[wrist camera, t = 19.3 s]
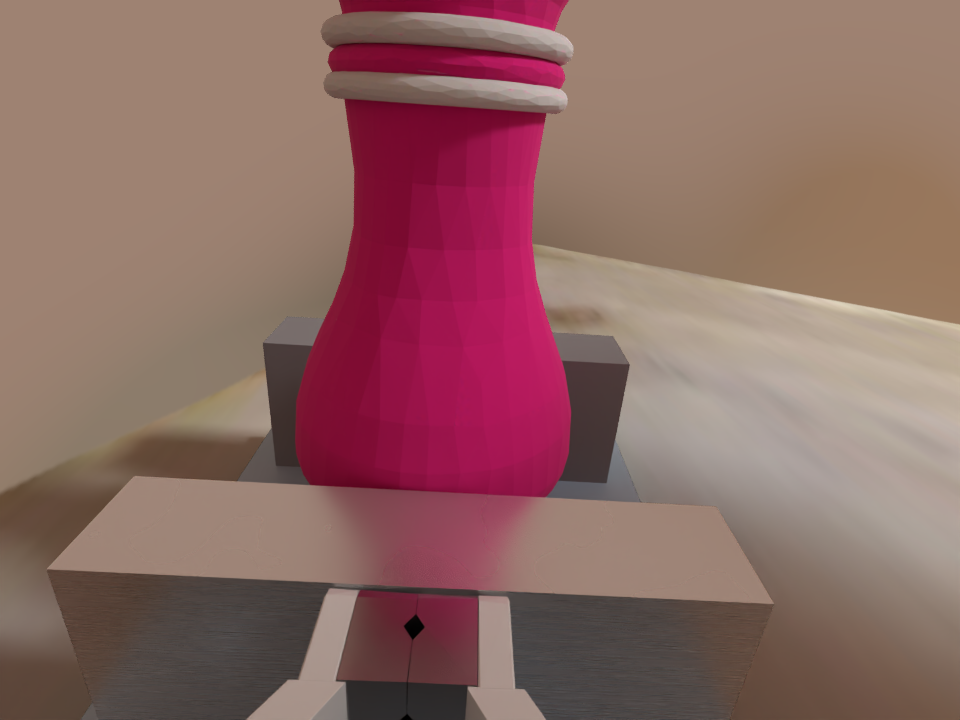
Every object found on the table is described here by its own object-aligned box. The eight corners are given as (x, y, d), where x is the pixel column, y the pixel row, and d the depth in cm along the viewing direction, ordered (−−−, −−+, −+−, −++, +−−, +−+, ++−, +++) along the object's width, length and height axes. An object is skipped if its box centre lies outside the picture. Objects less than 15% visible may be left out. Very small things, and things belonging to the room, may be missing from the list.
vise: (608, 457, 24) (633, 328, 21) (978, 1462, 6) (1370, 1383, 4) (282, 439, 24) (269, 305, 21) (-325, 1454, 6) (-862, 1359, 3)
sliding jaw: (669, 663, 14) (716, 506, 12) (707, 775, 11) (774, 604, 9) (173, 640, 13) (134, 476, 11) (109, 751, 11) (46, 568, 9)
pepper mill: (514, 468, 21) (594, -268, 12) (588, 633, 14) (854, -657, 6) (313, 483, 19) (252, -348, 11) (295, 675, 13) (113, -986, 4)
